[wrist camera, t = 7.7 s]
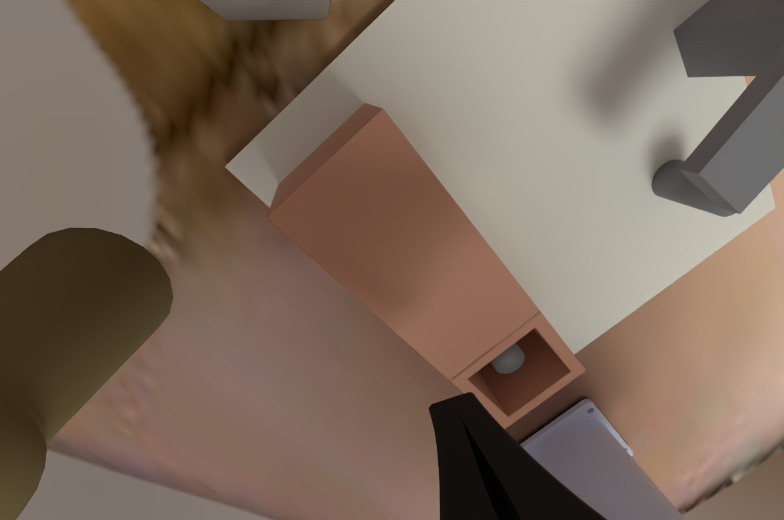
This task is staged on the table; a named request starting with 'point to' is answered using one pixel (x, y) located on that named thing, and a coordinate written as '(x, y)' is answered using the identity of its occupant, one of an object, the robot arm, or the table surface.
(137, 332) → the cork
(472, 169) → the board
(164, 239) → the table surface
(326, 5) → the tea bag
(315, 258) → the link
